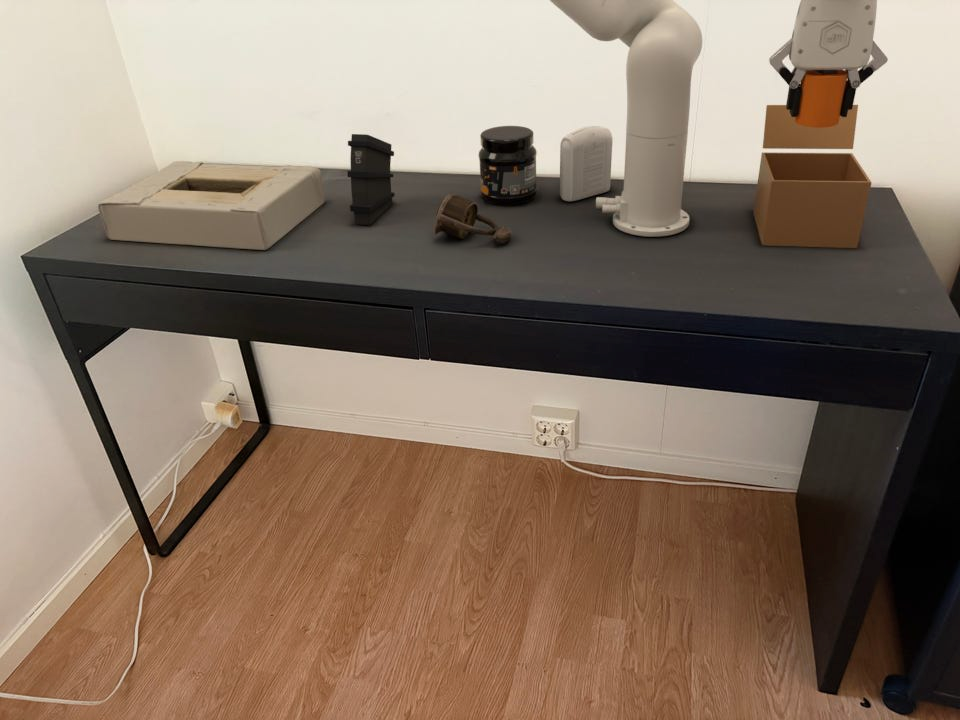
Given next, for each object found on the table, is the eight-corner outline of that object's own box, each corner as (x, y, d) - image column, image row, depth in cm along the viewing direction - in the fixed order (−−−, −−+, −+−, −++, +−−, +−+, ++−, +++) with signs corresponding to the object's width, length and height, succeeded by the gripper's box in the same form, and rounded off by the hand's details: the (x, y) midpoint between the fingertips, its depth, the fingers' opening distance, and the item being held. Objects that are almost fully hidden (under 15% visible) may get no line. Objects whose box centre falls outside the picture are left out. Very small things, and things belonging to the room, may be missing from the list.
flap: (766, 104, 124) (766, 105, 125) (762, 148, 126) (762, 148, 126) (858, 104, 122) (857, 104, 122) (853, 148, 123) (852, 149, 123)
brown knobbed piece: (467, 189, 133) (422, 192, 126) (521, 198, 124) (476, 202, 118) (465, 231, 135) (421, 236, 129) (518, 243, 127) (474, 249, 120)
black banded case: (343, 222, 133) (348, 133, 131) (375, 227, 145) (379, 146, 144) (363, 224, 132) (368, 134, 130) (393, 228, 144) (398, 146, 142)
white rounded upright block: (598, 185, 147) (600, 119, 140) (613, 191, 144) (616, 124, 137) (556, 198, 142) (556, 130, 136) (570, 204, 139) (571, 136, 133)
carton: (762, 245, 120) (771, 180, 115) (753, 212, 132) (761, 152, 126) (856, 248, 118) (871, 182, 112) (839, 214, 129) (852, 153, 124)
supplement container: (482, 188, 149) (478, 125, 143) (536, 186, 148) (535, 123, 142) (479, 208, 140) (476, 142, 134) (537, 206, 139) (536, 140, 133)
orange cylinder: (806, 129, 110) (817, 66, 105) (786, 118, 115) (796, 57, 111) (846, 125, 111) (859, 62, 106) (824, 114, 116) (836, 54, 111)
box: (327, 202, 147) (181, 194, 155) (321, 162, 143) (170, 156, 151) (270, 254, 129) (107, 242, 136) (261, 210, 124) (92, 200, 132)
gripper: (776, -17, 101) (757, 121, 111) (919, -22, 98) (887, 122, 107) (770, -24, 108) (753, 108, 117) (905, -28, 104) (875, 108, 114)
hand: (817, 113), depth 112 cm, fingers closed on orange cylinder, 6 cm apart
